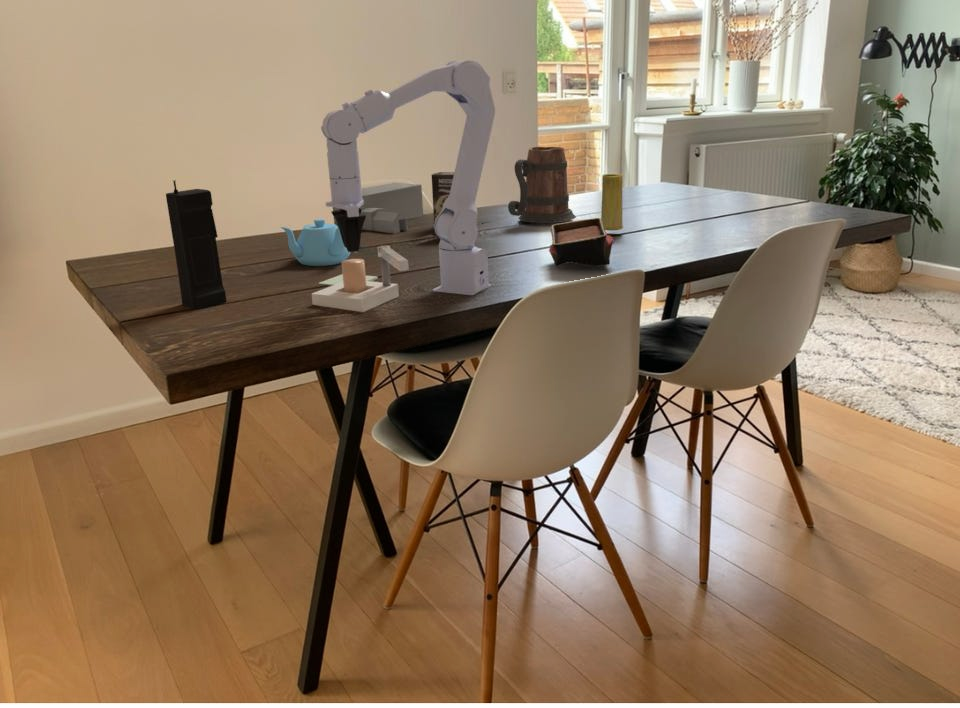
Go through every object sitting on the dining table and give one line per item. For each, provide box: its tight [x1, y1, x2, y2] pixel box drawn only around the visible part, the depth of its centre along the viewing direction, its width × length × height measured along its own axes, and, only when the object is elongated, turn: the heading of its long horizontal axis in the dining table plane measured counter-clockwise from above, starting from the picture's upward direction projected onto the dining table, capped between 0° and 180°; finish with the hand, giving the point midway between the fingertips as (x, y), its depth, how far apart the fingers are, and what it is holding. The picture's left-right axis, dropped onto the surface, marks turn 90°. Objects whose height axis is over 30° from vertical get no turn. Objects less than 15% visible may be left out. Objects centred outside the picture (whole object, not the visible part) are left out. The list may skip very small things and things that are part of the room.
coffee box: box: [431, 171, 455, 235], centre depth 220 cm, size 9×6×16 cm
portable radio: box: [165, 179, 227, 310], centre depth 156 cm, size 8×6×25 cm
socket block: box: [311, 257, 400, 313], centre depth 159 cm, size 12×12×8 cm
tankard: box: [507, 146, 576, 224], centre depth 235 cm, size 24×17×20 cm
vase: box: [600, 173, 624, 231], centre depth 218 cm, size 6×6×14 cm
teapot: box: [280, 218, 351, 267], centre depth 193 cm, size 15×15×10 cm
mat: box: [318, 273, 379, 287], centre depth 175 cm, size 9×9×1 cm
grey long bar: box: [377, 245, 410, 272], centre depth 153 cm, size 15×2×2 cm, turn 21°
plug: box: [340, 258, 367, 294], centre depth 159 cm, size 4×4×8 cm
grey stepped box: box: [332, 182, 424, 234], centre depth 231 cm, size 25×23×11 cm
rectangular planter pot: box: [548, 217, 614, 267], centre depth 184 cm, size 14×18×10 cm
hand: (351, 249), depth 157 cm, fingers open, 4 cm apart
